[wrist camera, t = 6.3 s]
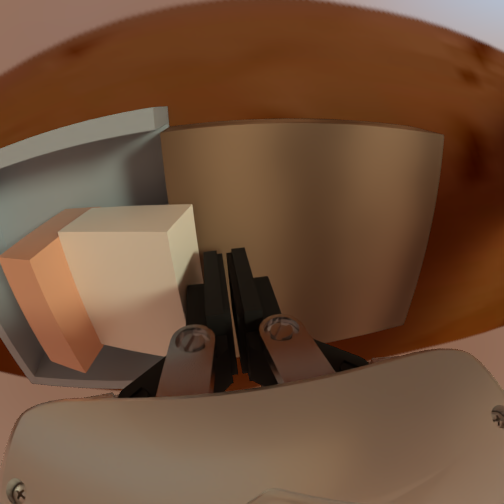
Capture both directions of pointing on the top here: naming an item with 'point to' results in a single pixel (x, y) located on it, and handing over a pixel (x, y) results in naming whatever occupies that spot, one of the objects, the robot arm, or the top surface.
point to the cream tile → (134, 271)
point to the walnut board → (313, 211)
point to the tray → (77, 196)
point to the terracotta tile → (52, 294)
